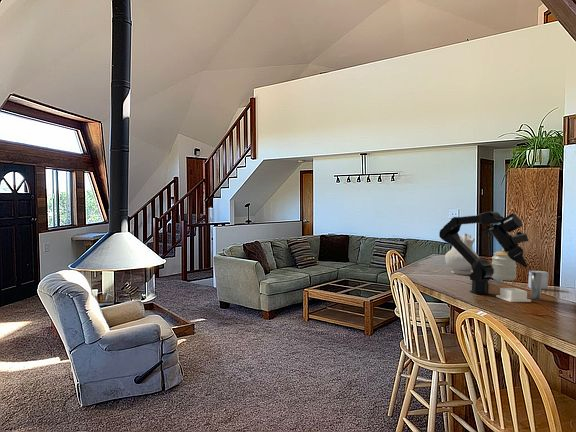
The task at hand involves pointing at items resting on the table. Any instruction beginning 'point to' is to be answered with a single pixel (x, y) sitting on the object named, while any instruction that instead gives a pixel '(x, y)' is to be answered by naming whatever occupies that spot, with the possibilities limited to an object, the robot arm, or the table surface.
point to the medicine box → (544, 279)
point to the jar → (503, 266)
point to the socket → (513, 295)
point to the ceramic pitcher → (460, 257)
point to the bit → (536, 285)
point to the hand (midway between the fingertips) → (524, 264)
